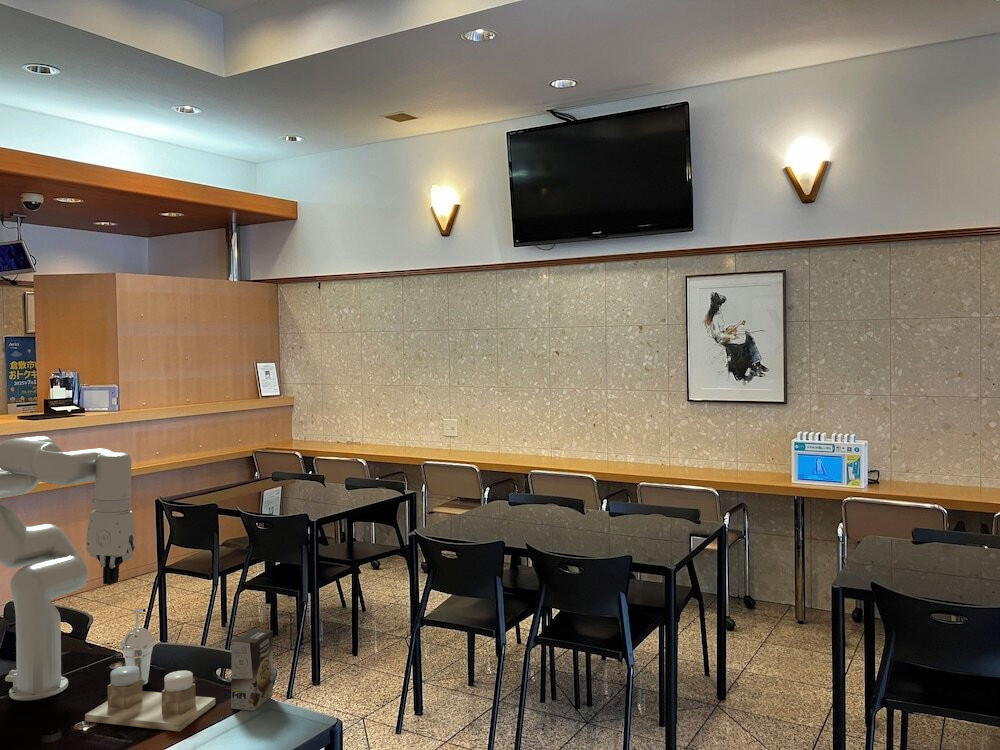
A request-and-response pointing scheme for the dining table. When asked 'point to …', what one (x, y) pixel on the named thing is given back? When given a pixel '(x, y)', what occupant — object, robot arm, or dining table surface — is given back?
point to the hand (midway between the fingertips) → (110, 582)
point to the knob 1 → (124, 675)
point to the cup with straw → (138, 648)
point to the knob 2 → (178, 680)
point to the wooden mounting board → (150, 707)
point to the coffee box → (251, 669)
